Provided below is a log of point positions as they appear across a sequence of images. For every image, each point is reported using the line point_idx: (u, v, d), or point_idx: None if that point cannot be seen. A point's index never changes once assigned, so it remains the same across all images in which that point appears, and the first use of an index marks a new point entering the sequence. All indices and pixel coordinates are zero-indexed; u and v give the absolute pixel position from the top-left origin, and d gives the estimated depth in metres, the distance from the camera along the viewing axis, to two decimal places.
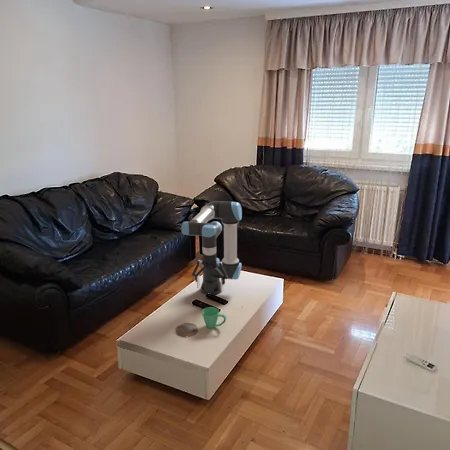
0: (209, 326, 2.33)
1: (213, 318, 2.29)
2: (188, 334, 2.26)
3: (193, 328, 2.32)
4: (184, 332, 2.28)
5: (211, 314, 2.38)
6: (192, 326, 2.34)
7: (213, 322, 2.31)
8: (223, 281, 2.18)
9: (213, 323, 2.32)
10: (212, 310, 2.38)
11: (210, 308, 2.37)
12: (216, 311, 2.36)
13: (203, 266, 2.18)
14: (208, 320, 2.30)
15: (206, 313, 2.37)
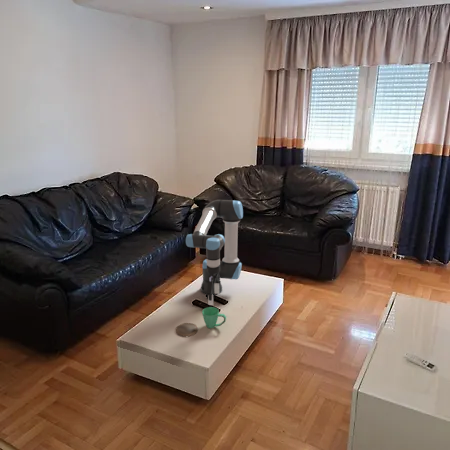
0: (209, 326, 2.33)
1: (213, 318, 2.29)
2: (188, 334, 2.26)
3: (193, 328, 2.32)
4: (184, 332, 2.28)
5: (211, 314, 2.38)
6: (192, 326, 2.34)
7: (213, 322, 2.31)
8: (209, 296, 2.20)
9: (213, 323, 2.32)
10: (212, 310, 2.38)
11: (210, 308, 2.37)
12: (216, 311, 2.36)
13: None
14: (208, 320, 2.30)
15: (206, 313, 2.37)
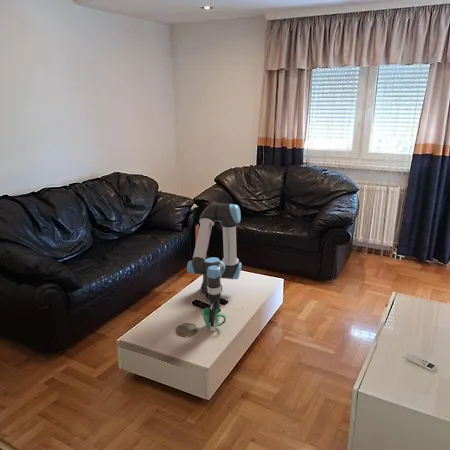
0: (209, 326, 2.33)
1: None
2: (188, 334, 2.26)
3: (193, 328, 2.32)
4: (184, 332, 2.28)
5: None
6: (192, 326, 2.34)
7: None
8: (211, 323, 2.28)
9: None
10: None
11: None
12: (216, 311, 2.36)
13: None
14: (208, 320, 2.30)
15: (206, 313, 2.37)
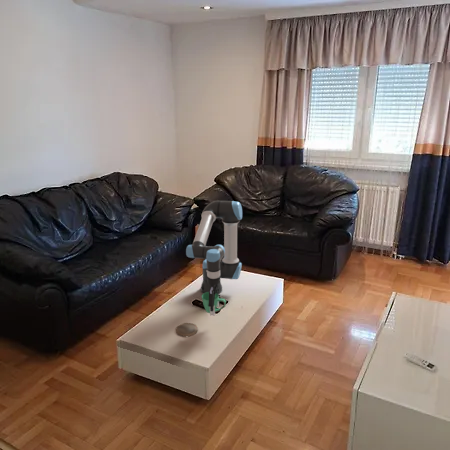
0: (209, 311, 2.30)
1: None
2: (188, 334, 2.26)
3: (193, 328, 2.32)
4: (184, 332, 2.28)
5: None
6: (192, 326, 2.34)
7: None
8: None
9: None
10: None
11: None
12: (216, 296, 2.33)
13: None
14: (207, 305, 2.27)
15: (206, 298, 2.34)
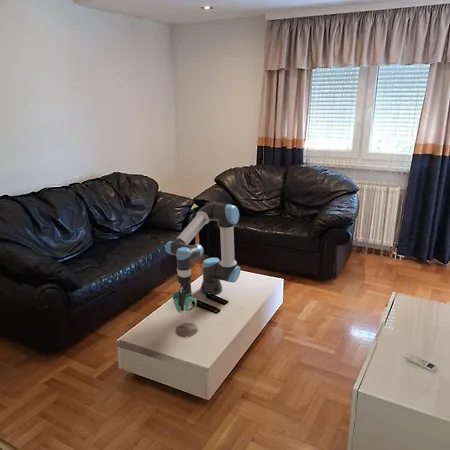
0: (179, 310, 2.25)
1: None
2: (188, 334, 2.26)
3: (193, 328, 2.32)
4: (184, 332, 2.28)
5: None
6: (192, 326, 2.34)
7: None
8: (181, 307, 2.21)
9: None
10: None
11: None
12: (187, 295, 2.29)
13: None
14: None
15: (177, 297, 2.29)
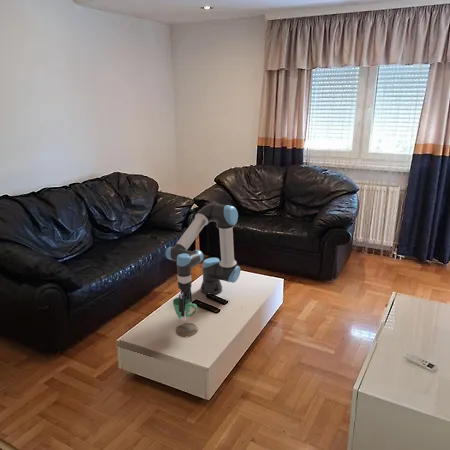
0: (180, 316, 2.27)
1: None
2: (188, 334, 2.26)
3: (193, 328, 2.32)
4: (184, 332, 2.28)
5: None
6: (192, 326, 2.34)
7: None
8: None
9: None
10: None
11: None
12: (188, 301, 2.30)
13: None
14: (178, 310, 2.24)
15: (177, 303, 2.31)
